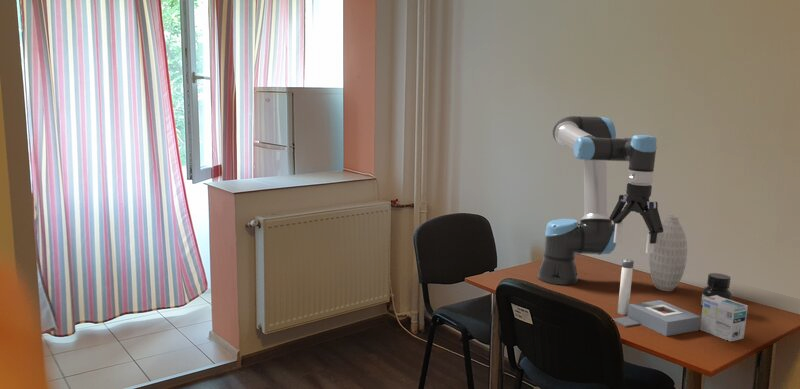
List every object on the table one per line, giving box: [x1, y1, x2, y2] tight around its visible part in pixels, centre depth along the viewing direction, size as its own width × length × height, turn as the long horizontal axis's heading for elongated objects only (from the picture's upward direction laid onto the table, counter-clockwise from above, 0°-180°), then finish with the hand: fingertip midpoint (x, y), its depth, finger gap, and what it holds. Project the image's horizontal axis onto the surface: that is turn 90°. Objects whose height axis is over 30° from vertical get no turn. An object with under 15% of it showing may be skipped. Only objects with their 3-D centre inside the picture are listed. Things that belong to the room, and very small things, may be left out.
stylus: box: [617, 258, 635, 316], centre depth 205 cm, size 4×4×18 cm
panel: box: [626, 299, 702, 337], centre depth 198 cm, size 16×14×5 cm
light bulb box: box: [699, 295, 749, 342], centre depth 190 cm, size 11×7×11 cm, turn 29°
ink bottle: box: [700, 272, 733, 308], centre depth 213 cm, size 10×9×12 cm
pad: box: [612, 316, 641, 328], centre depth 198 cm, size 6×6×1 cm
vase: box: [648, 214, 688, 292], centre depth 232 cm, size 13×13×28 cm
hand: (632, 247), depth 203 cm, fingers open, 13 cm apart
